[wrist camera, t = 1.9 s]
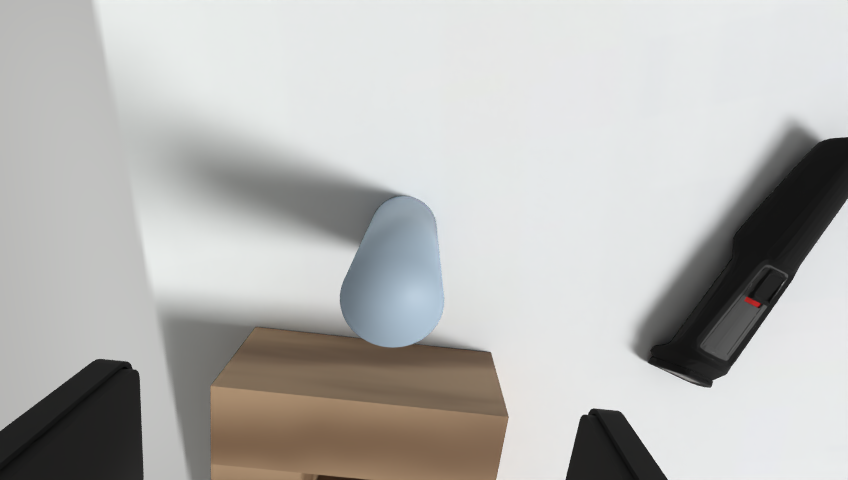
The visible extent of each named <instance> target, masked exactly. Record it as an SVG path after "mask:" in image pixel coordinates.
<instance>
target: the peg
mask: <svg viewBox="0 0 848 480" xmlns="http://www.w3.org/2000/svg"><path fill="white" fill-rule="evenodd" d="M340 305H341V310H342V313H343V316H344V318H345V320H346V322H347V323H348V325H349V326H350V328H351V329H352V330H353V331H354V332H355V333H356V334H357V335H358V336H360V337H361V338H362V339H364V340H366V341H368V342H370V343H372V344H375V345H378V346H383V347H392V348H394V347H403V346H408V345H411V344H414V343H416V342H418V341H420V340H422V339H423V338H425V337H426V336H427V335H428V334H429V333H430V332H431V331H432V330H433V329H434V328H435V327H436V325H437V324H438V322H439V320H440V318H441V315H442V312H443V308H444V292H443V282H442V273H441V264H440V255H439V245H438V236H437V227H436V221H435V217H434V215H433V213H432V211H431V210H430V208H429V207H428V206H427V205H426V204H424V203H423V202H422V201H420V200H418V199H416V198H413V197H408V196H399V197H394V198H391V199H389V200H387V201H386V202H384V203H383V204H382V205H381V206H380V207H379V208H378V209H377V210H376V212H375V214H374V216H373V218H372V220H371V223H370V225H369V227H368V229H367V231H366V233H365V236H364V238H363V240H362V242H361V244H360V246H359V249H358V251H357V253H356V255H355V257H354V259H353V262H352V264H351V266H350V268H349V270H348V272H347V275H346V277H345V279H344V281H343V284H342V287H341V292H340Z"/></svg>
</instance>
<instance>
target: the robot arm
mask: <svg viewBox="0 0 848 480" xmlns="http://www.w3.org/2000/svg"><path fill="white" fill-rule="evenodd" d="M140 402H141V401H140V378H139V373H138V371H137V370H133V369H132V366H131V364H130V363H129V362H125V361H115V360H105V359H97V360H95V361H93V362H92V363H90V364H89V365H88V366H86V367H85V368H84V369H82V370H81V371H80V372H78V373H77V374H76V375H74V376H73V377H72V378H70V379H69V380H68V381H66V382H65V383H64V384H62V385H61V386H60V387H59V388H57V389H56V390H54V391H53V392H52V393H50V394H49V395H48V396H46V397H45V398H44V399H42V400H41V401H40V402H38V403H37V404H36V405H34V406H33V407H32V408H30V409H29V410H28V411H27V412H25V413H24V414H22V415H21V416H20V417H19V418H17V419H16V420H15V421H13V422H12V423H11V424H9V425H8V426H7V427H5V428H4V429H3V430H1V431H0V480H143V453H142V428H141V427H142V426H141V403H140ZM566 480H668V479H667V478H666V476H665V475H664V473H663V472H662V471H661V469H660V468H659V466H658V465H657V463H656V462H655V460H654V459H653V457H652V456H651V455H650V453H649V452H648V450H647V449H646V447H645V446H644V444H643V443H642V441H641V440H640V439H639V437H638V436H637V434H636V433H635V431H634V430H633V428H632V427H631V425H630V424H629V423H628V421H627V420H626V418H625V417H624V415H623V414H622V413H621V412H619V411H613V410H604V409H594V408H593V409H591V410H590V412H589V414H588V415H582V417H581V419H580V422H579V426H578V430H577V434H576V438H575V442H574V447H573V451H572V455H571V459H570V463H569V468H568V472H567V476H566Z"/></svg>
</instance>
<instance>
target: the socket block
mask: <svg viewBox="0 0 848 480" xmlns="http://www.w3.org/2000/svg"><path fill="white" fill-rule="evenodd" d="M210 389H211V480H496V477H497V472H498V467H499V462H500V457H501V452H502V447H503V442H504V437H505V432H506V428H507V423H508V418H509V417H508V413H507V409H506V406H505V402H504V398H503V395H502V391H501V388H500V384H499V380H498V377H497V373H496V369H495V366H494V362H493V358H492V355H491V353H490V352H481V351H471V350H462V349H453V348H444V347H435V346H426V345H416V344H411V345H408V346H403V347H394V348H392V347H383V346H378V345H375V344H372V343H370V342H368V341H366V340H364V339H361V338H352V337H343V336H334V335H324V334H315V333H306V332H297V331H288V330H278V329H269V328H260V327H255V328H254V330H253V331H252V332H251V334H250V335H249V336H248V338H247V339H246V340H245V342H244V343H243V344H242V345H241V347H240V348H239V349H238V351H237V352H236V353H235V355H234V356H233V357H232V358H231V360H230V361H229V362H228V364H227V365H226V366H225V368H224V369H223V370H222V372H221V373H220V374H219V375H218V377H217V378H216V379H215V381H214V382H213V383H212V385H211V386H210Z"/></svg>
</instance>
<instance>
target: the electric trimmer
mask: <svg viewBox="0 0 848 480" xmlns="http://www.w3.org/2000/svg"><path fill="white" fill-rule="evenodd" d="M847 199H848V137H845V138H832V139H827V140H824V141H822V142H819V143H818V144H817V145H816V146H815V147H814V148H813V149H812V150H811V151H810V152H809V153H808V154H807V155H806V156H805V157H804V158H803V160H802V161H801V162H800V163H799V164H798V165H797V166H796V167H795V168H794V169H793V170H792V172H791V173H790V174H789V175H788V176H787V177H786V178H785V179H784V180H783V181H782V183H781V184H780V185H779V186H778V187H777V188H776V189H775V190H774V191H773V192H772V193H771V195H770V196H769V197H768V198H767V199H766V200H765V201H764V202H763V203H762V204H761V206H760V207H759V208H758V209H757V210H756V211H755V212H754V213H753V215H752V216H751V217H750V218H749V219H748V220H747V222H746V223H745V224H744V225H743V226H742V227H741V228H740V230H739V231H738V232H737V233H736V235H735V237H734V244H733V258H732V260H731V261H730V262H729V264H728V265H727V266H726V268H725V269H724V270H723V272H722V273H721V275H720V276H719V277H718V279H717V280H716V281H715V283H714V284H713V285H712V287H711V288H710V289H709V291H708V292H707V293H706V295H705V296H704V297H703V299H702V300H701V302H700V303H699V304H698V306H697V307H696V308H695V310H694V311H693V312H692V314H691V315H690V316H689V318H688V319H687V320H686V322H685V323H684V325H683V326H682V327H681V329H680V330H679V331H678V333H677V334H676V335H675V337H674V338H673V339H672V341H671V342H670V343H669V344H665V345H660V346H654V347H653V348H652V349H651V353H652V355H653V357H655V358H653V357H651V359H650V361H649V362H648V363H649V364H651V365H654V366H656V367H658V368H660V369H662V370H664V371H667V372H669V373H671V374H673V375H675V376H677V377H679V378H681V379H683V380H686V381H688V382H690V383H692V384H695V385H698V386H702V387H709V388H710V387H711V386H712V383H713V381H712V380H715V379H717V378H719V377H721V376H724V375H726V374H727V373H728V371H729V369H730V368H731V366H732V365H733V364H734V362H735V361H736V360H737V358H738V357H739V356H740V354H741V353H742V351H743V350H744V348H745V347H746V346H747V344H748V343H749V341H750V340H751V338H752V337H753V335H754V334H755V333H756V331H757V330H758V328H759V327H760V325H761V324H762V323H763V321H764V320H765V318H766V317H767V315H768V314H769V313H770V311H771V310H772V308H773V307H774V305H775V304H776V303H777V301H778V300H779V298H780V297H781V295H782V294H783V293H784V291H785V290H786V288H787V287H788V285H789V284H790V283H791V281H792V280H793V278H794V276H795V274H796V272H797V270H798V268H799V266H800V265H801V263H802V262H803V260H804V259H805V258H806V256H807V255H808V253H809V252H810V251H811V249H812V248H813V246H814V245H815V244H816V242H817V241H818V239H819V238H820V237H821V235H822V234H823V232H824V231H825V230H826V228H827V227H828V225H829V224H830V223H831V221H832V220H833V218H834V217H835V216H836V214H837V213H838V211H839V210H840V209H841V207H842V206H843V204H844V203H845V202H846V200H847ZM689 369H690V370H689Z"/></svg>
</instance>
